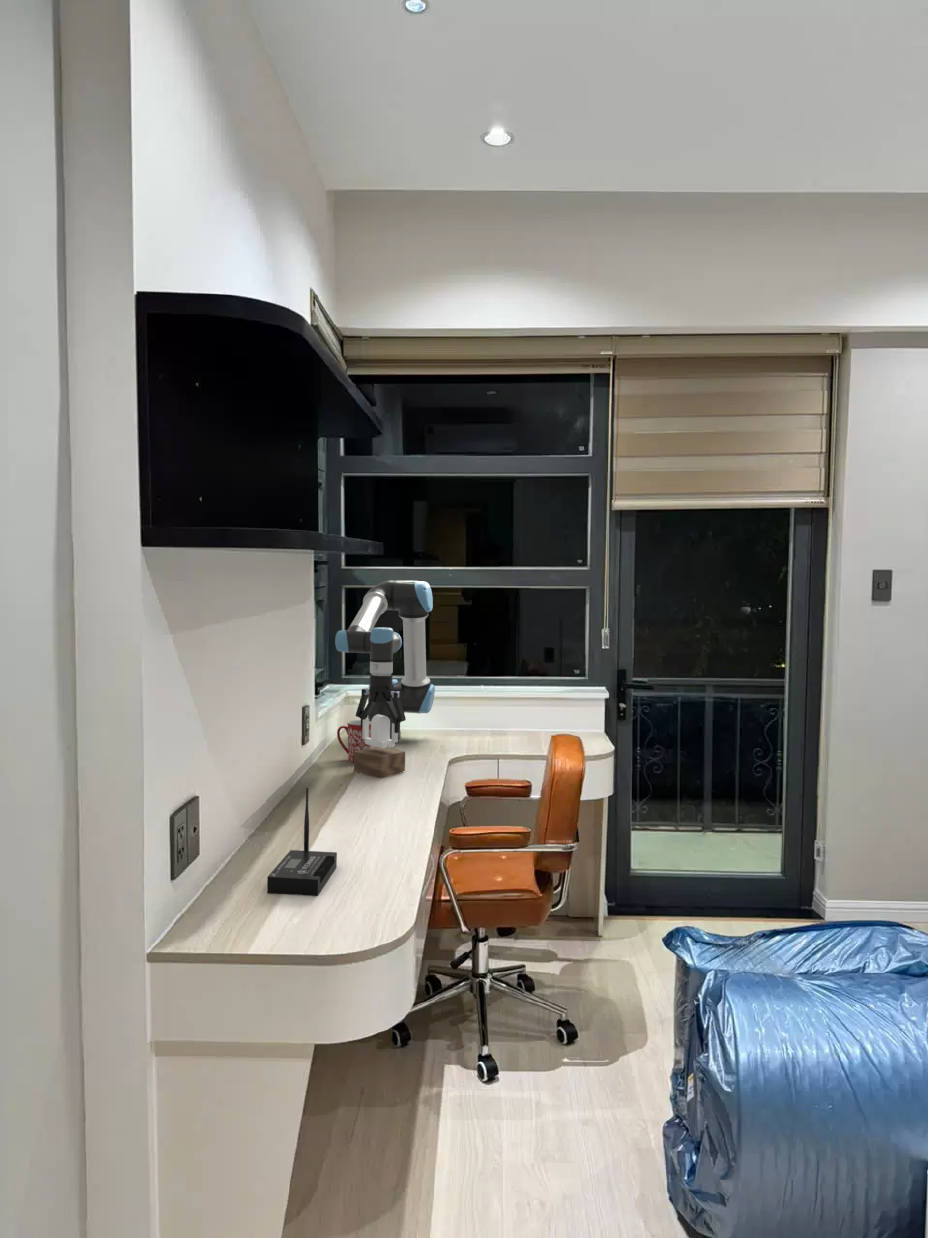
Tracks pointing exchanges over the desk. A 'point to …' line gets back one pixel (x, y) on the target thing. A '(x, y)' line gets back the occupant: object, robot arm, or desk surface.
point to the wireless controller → (302, 869)
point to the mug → (354, 738)
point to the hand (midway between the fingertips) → (379, 740)
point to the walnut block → (379, 762)
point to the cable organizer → (380, 732)
